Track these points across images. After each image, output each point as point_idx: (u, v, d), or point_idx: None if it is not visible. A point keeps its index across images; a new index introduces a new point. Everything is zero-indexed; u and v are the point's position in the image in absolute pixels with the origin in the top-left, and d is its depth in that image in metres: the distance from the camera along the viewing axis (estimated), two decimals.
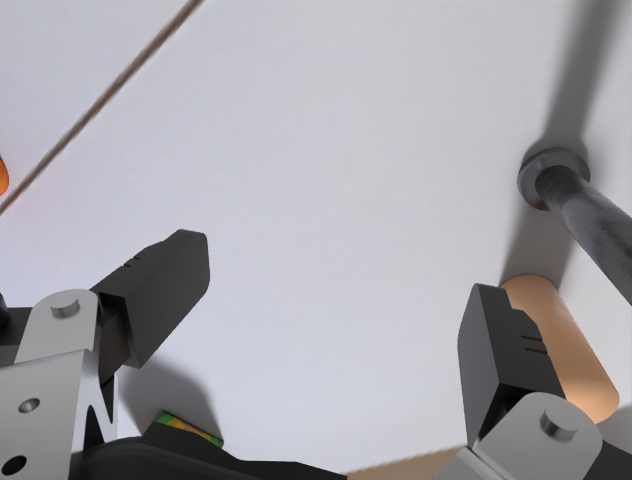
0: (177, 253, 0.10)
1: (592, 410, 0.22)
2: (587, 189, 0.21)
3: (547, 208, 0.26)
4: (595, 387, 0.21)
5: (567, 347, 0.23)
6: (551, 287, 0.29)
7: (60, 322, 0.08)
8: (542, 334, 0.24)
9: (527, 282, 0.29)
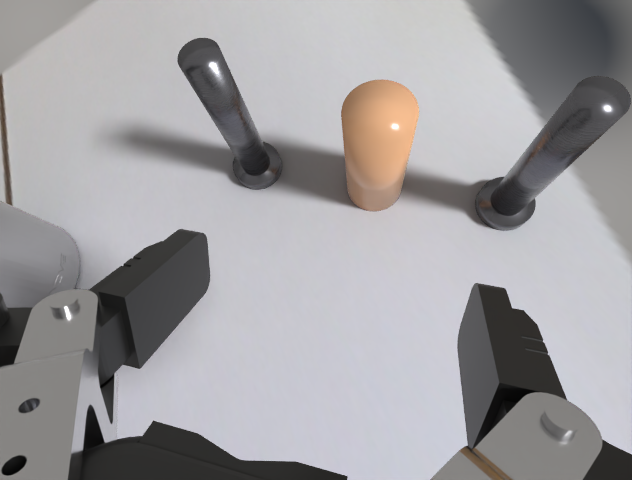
0: (177, 253, 0.10)
1: (392, 97, 0.22)
2: None
3: (276, 167, 0.32)
4: (360, 97, 0.23)
5: None
6: None
7: (60, 322, 0.08)
8: (345, 152, 0.25)
9: None
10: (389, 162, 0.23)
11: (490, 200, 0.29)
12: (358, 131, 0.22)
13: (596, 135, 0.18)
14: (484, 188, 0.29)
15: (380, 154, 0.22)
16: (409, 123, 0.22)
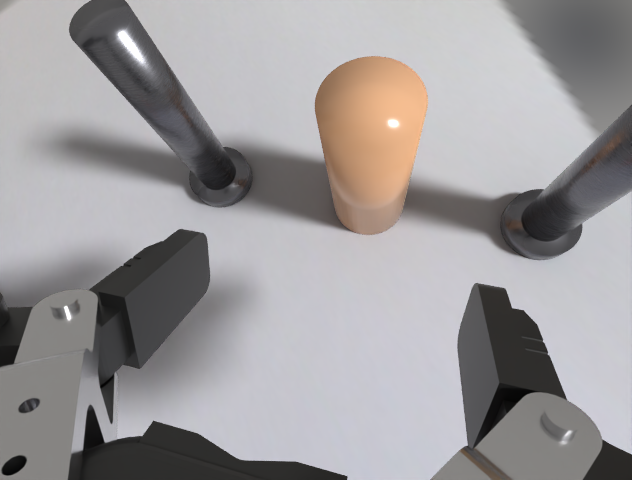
0: (177, 253, 0.10)
1: (389, 81, 0.15)
2: None
3: (243, 179, 0.25)
4: (342, 82, 0.16)
5: None
6: None
7: (60, 322, 0.08)
8: (325, 160, 0.18)
9: None
10: (386, 175, 0.17)
11: (521, 220, 0.22)
12: (338, 130, 0.15)
13: None
14: (512, 204, 0.22)
15: (371, 164, 0.15)
16: (413, 118, 0.15)
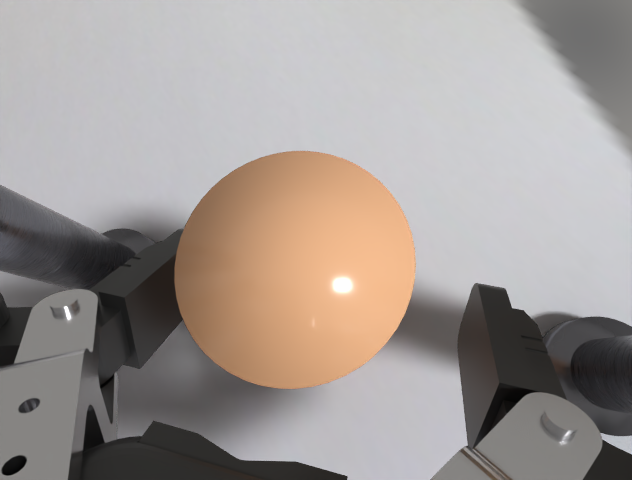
0: None
1: (333, 210, 0.07)
2: None
3: None
4: (236, 207, 0.07)
5: None
6: None
7: (60, 322, 0.08)
8: None
9: None
10: None
11: (570, 370, 0.14)
12: (217, 328, 0.07)
13: None
14: (556, 342, 0.14)
15: None
16: (383, 308, 0.06)
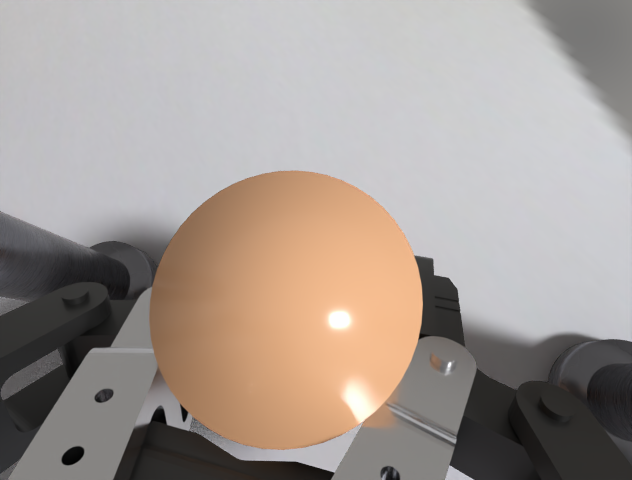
0: None
1: (329, 239, 0.06)
2: None
3: None
4: (220, 234, 0.07)
5: None
6: None
7: None
8: None
9: None
10: None
11: (586, 397, 0.13)
12: (197, 375, 0.06)
13: None
14: (571, 366, 0.13)
15: None
16: (386, 354, 0.06)
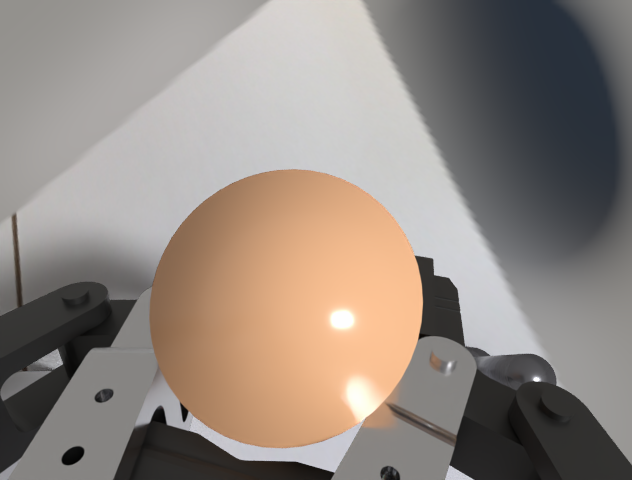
0: None
1: (329, 237, 0.06)
2: None
3: None
4: (220, 233, 0.07)
5: None
6: None
7: None
8: None
9: None
10: None
11: None
12: (196, 373, 0.06)
13: None
14: None
15: None
16: (386, 353, 0.06)
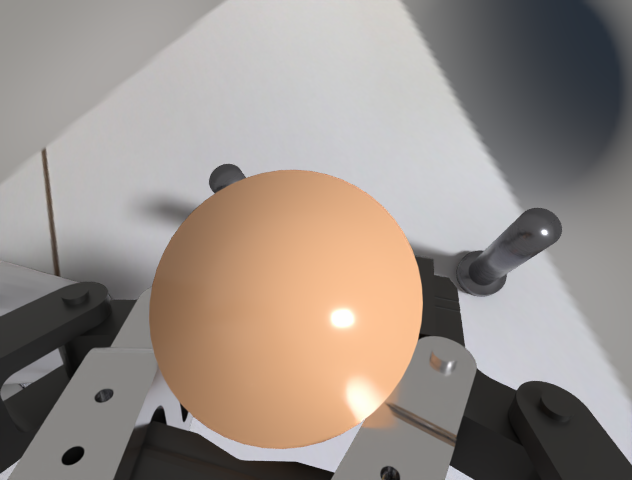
0: None
1: (329, 238, 0.06)
2: None
3: None
4: (220, 234, 0.07)
5: None
6: None
7: None
8: None
9: None
10: None
11: (468, 271, 0.34)
12: (196, 375, 0.06)
13: (538, 251, 0.23)
14: (463, 260, 0.35)
15: None
16: (386, 353, 0.06)
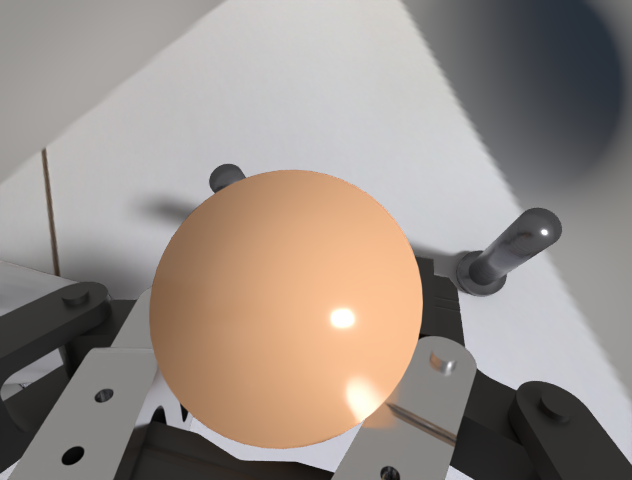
0: None
1: (329, 238, 0.06)
2: None
3: None
4: (220, 234, 0.07)
5: None
6: None
7: None
8: None
9: None
10: None
11: (468, 271, 0.34)
12: (196, 375, 0.06)
13: (538, 251, 0.23)
14: (463, 260, 0.35)
15: None
16: (386, 353, 0.06)
